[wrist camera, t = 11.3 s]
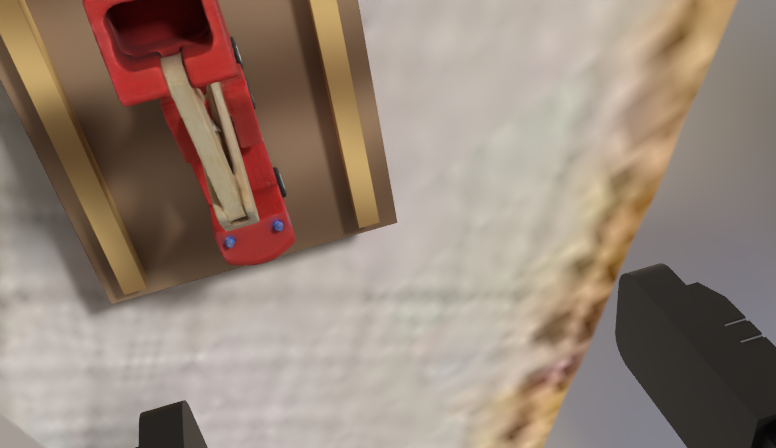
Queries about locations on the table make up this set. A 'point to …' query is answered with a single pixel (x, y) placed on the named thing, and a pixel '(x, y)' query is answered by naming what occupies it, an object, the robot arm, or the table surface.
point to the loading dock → (160, 150)
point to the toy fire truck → (200, 112)
